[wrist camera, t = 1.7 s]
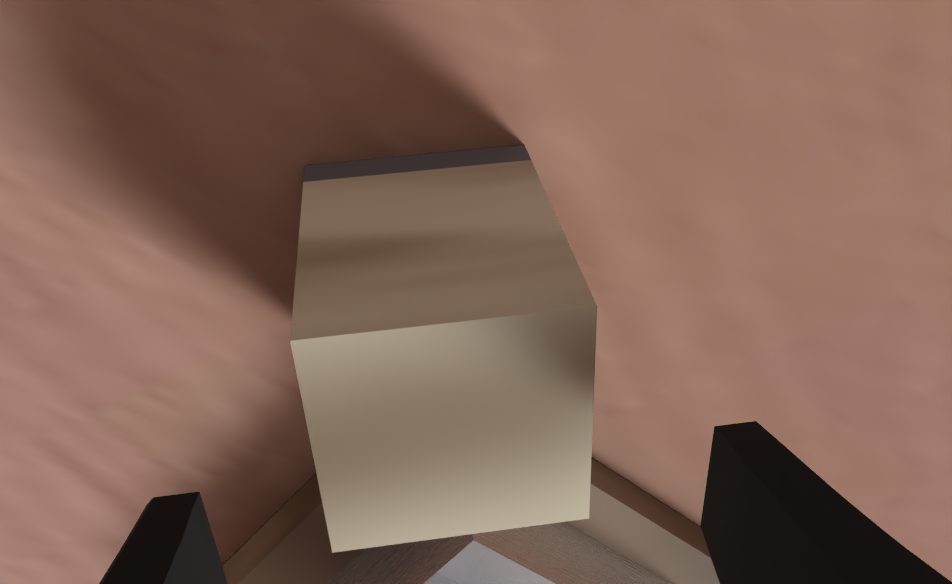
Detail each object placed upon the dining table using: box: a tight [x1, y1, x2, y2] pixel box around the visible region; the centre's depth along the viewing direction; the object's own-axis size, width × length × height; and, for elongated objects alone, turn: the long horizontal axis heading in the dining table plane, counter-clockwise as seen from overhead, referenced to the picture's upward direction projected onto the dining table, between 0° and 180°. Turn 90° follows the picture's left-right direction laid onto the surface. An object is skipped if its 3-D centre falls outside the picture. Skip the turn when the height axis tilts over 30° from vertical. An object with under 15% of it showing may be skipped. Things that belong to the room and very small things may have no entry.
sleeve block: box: [290, 144, 597, 553], centre depth 16 cm, size 4×4×6 cm
